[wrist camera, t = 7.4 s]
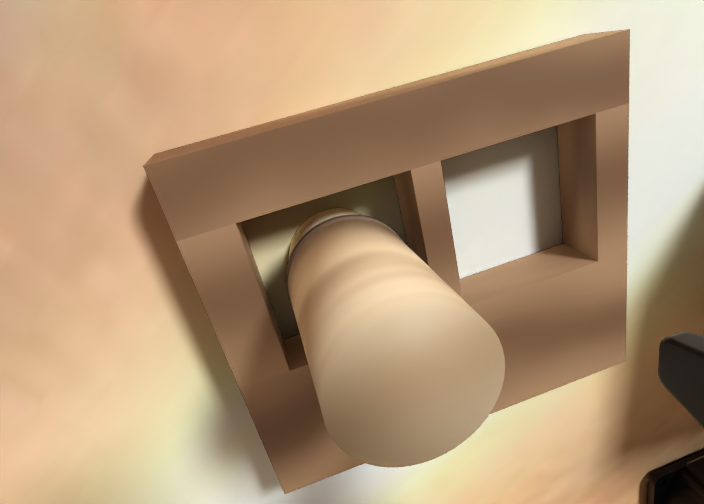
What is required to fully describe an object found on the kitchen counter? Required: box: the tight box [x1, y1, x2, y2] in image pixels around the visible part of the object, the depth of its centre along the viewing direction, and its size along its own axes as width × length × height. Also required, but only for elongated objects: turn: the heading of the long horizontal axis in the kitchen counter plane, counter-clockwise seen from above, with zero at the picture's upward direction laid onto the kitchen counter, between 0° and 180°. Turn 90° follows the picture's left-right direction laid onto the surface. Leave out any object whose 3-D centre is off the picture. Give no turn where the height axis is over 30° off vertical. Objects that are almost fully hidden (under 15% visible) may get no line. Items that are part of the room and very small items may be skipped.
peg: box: [285, 208, 505, 467], centre depth 13 cm, size 4×4×8 cm
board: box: [144, 29, 630, 494], centre depth 17 cm, size 13×15×2 cm
